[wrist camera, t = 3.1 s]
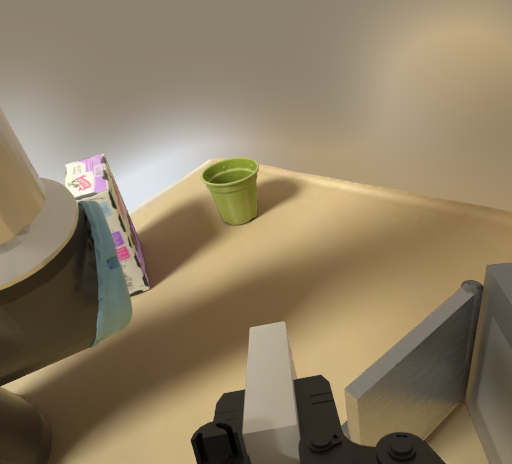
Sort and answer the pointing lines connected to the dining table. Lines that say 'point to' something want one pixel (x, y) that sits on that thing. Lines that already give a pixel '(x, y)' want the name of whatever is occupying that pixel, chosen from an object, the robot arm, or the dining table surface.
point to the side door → (417, 374)
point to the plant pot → (233, 188)
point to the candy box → (110, 215)
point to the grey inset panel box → (493, 367)
